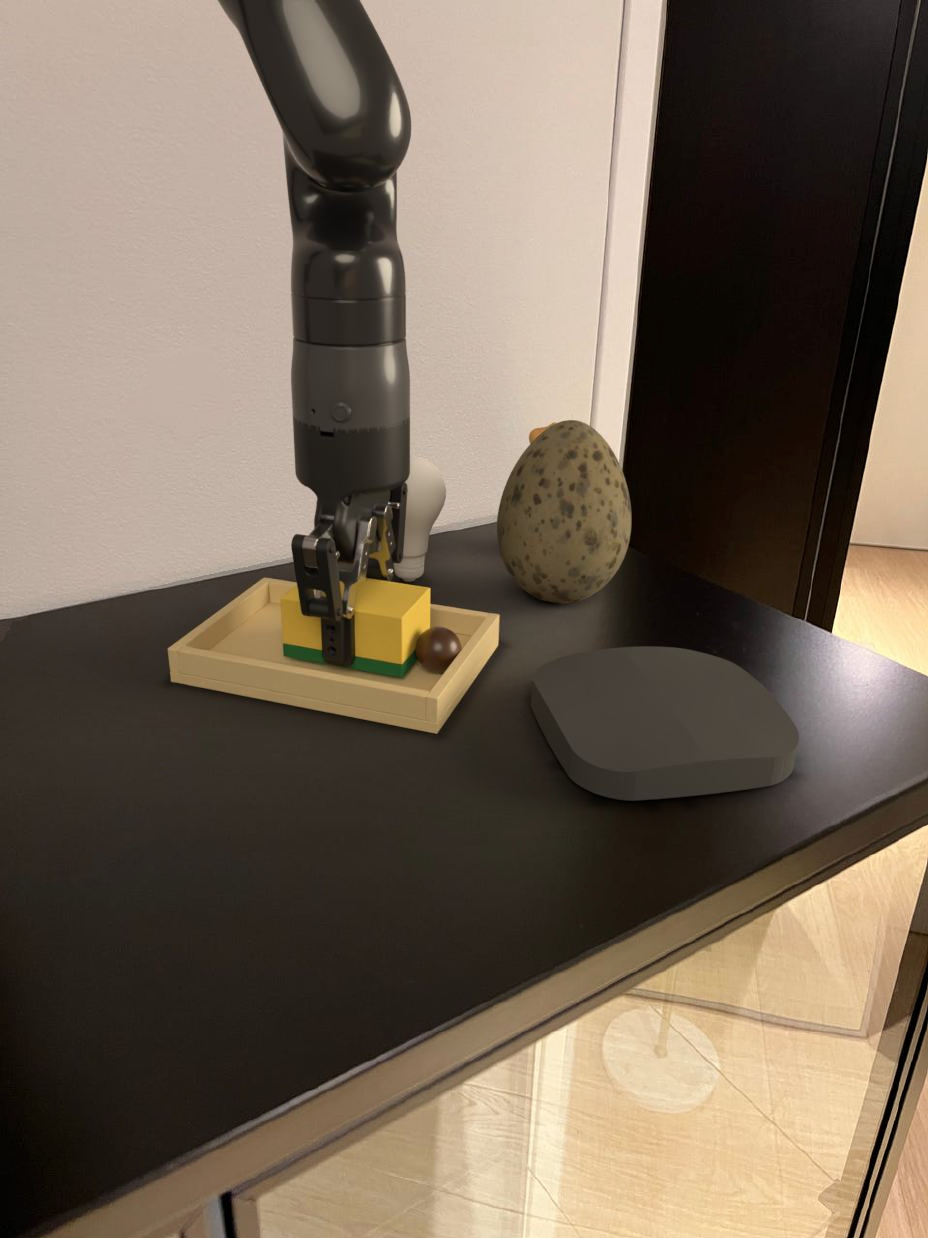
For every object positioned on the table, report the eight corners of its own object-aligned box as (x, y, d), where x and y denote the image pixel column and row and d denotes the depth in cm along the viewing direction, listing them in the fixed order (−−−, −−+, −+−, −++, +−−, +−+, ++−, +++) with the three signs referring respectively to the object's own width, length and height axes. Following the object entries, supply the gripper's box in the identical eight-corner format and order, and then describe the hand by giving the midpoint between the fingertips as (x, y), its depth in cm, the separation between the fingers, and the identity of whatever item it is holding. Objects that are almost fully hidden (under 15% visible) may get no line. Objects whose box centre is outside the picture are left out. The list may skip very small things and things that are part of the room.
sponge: (283, 656, 71) (279, 597, 70) (317, 625, 76) (315, 569, 74) (402, 678, 69) (402, 618, 67) (430, 644, 74) (430, 587, 72)
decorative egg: (644, 620, 81) (663, 435, 75) (514, 631, 79) (523, 441, 73) (597, 570, 91) (611, 402, 84) (480, 578, 88) (485, 406, 82)
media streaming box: (582, 813, 57) (586, 768, 56) (516, 689, 70) (518, 651, 69) (817, 788, 60) (826, 744, 59) (713, 673, 73) (718, 636, 72)
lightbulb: (458, 585, 87) (461, 460, 82) (396, 600, 84) (396, 471, 79) (420, 562, 91) (421, 442, 87) (360, 576, 88) (358, 452, 84)
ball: (432, 629, 68) (462, 665, 68) (447, 611, 71) (476, 645, 71) (399, 653, 70) (429, 688, 70) (415, 634, 72) (444, 668, 73)
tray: (170, 682, 70) (166, 648, 69) (266, 606, 82) (264, 576, 81) (437, 734, 65) (437, 698, 64) (498, 645, 77) (499, 614, 75)
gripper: (344, 382, 72) (350, 599, 80) (243, 429, 60) (260, 681, 67) (443, 391, 70) (440, 613, 78) (360, 442, 58) (365, 701, 65)
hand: (357, 643), depth 72 cm, fingers closed on sponge, 5 cm apart
